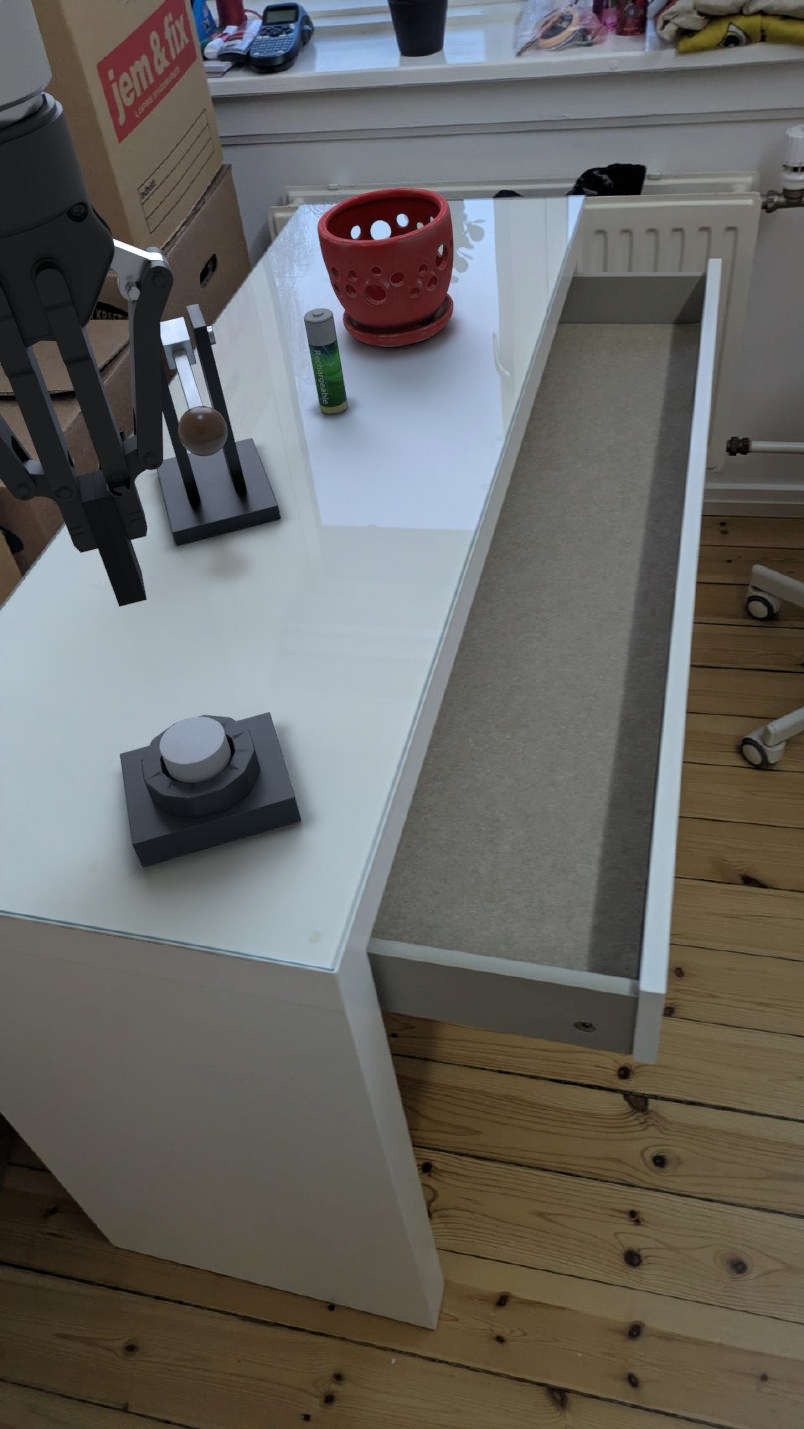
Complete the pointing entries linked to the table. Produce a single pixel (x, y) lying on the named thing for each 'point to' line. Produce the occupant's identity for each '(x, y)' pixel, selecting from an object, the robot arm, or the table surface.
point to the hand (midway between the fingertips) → (130, 588)
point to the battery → (326, 360)
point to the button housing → (208, 794)
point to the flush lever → (191, 394)
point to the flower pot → (390, 265)
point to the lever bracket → (212, 465)
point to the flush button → (195, 749)
